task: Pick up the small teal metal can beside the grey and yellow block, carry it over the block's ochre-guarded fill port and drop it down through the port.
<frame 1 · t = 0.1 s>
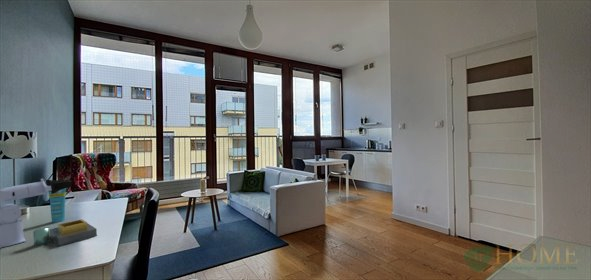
hand: (69, 182, 117), 22 cm above the table, tool horizontal, fingers open, 7 cm apart
grey and yellow block: (73, 236, 108), on the table
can: (42, 244, 100), on the table
tube: (58, 221, 130), on the table
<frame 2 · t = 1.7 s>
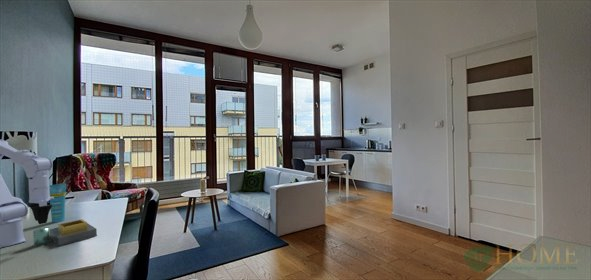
hand: (41, 221, 100), 9 cm above the table, tool pointing down, fingers open, 7 cm apart
nothing on the table moved.
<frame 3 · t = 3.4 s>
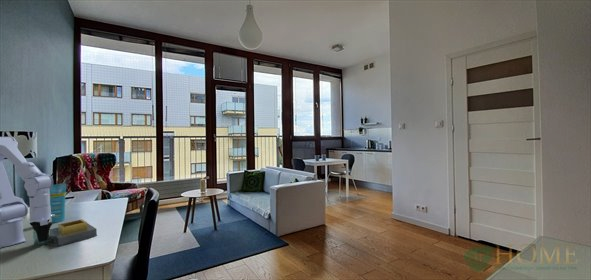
hand: (41, 239, 100), 2 cm above the table, tool pointing down, fingers closed on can, 4 cm apart
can: (42, 244, 100), on the table, touching gripper
everything else where it was.
when the fingers open (7 cm above the table, at t = 6.1 s): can drops 6 cm, resting in grey and yellow block.
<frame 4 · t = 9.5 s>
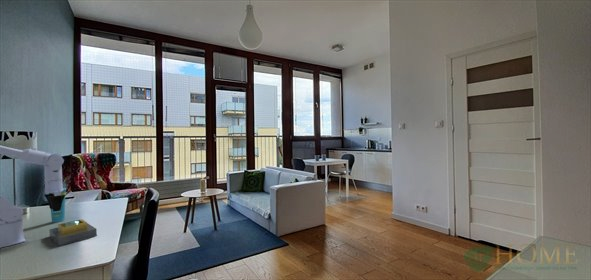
hand: (55, 209, 115), 10 cm above the table, tool pointing down, fingers open, 7 cm apart
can: (72, 236, 108), resting in grey and yellow block
everything else where it was.
at the end: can 0.0 cm from the grey and yellow block (horizontally); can resting in grey and yellow block; the gripper is holding nothing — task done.
